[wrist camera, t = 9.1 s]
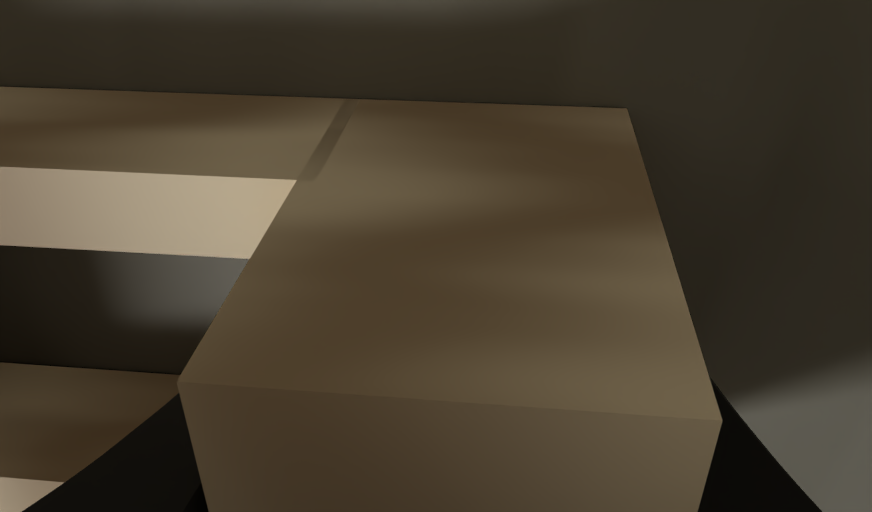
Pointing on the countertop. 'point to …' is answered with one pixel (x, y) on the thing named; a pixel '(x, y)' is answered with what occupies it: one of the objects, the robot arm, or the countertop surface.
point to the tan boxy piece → (371, 302)
